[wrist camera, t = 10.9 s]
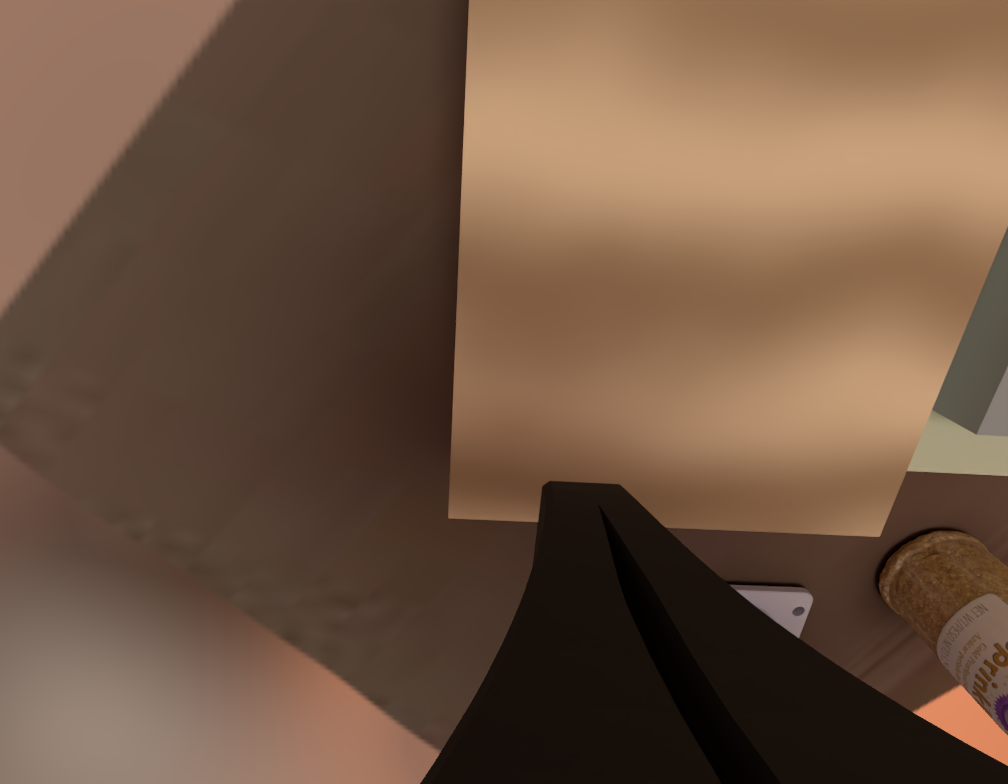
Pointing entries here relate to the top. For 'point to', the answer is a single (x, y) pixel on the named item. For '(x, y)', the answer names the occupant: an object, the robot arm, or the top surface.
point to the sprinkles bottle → (956, 610)
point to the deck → (720, 250)
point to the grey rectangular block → (982, 360)
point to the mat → (958, 450)
